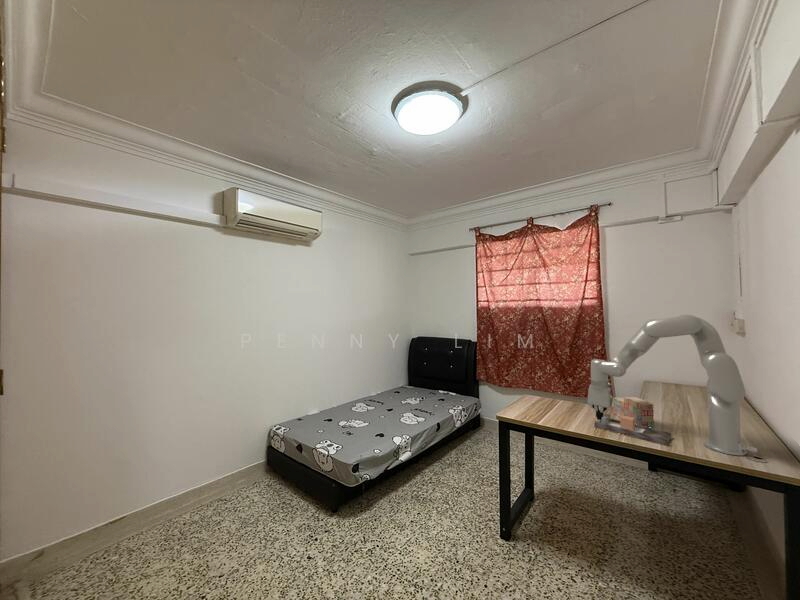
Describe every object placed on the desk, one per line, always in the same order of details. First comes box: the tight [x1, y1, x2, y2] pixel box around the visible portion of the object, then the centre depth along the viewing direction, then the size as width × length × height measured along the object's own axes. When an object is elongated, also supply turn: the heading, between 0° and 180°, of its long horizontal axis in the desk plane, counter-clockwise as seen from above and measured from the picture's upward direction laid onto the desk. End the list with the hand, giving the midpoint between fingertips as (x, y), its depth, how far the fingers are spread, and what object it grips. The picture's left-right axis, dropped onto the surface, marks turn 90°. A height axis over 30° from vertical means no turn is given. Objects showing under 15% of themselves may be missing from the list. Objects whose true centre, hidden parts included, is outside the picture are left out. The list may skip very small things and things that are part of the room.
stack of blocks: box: [612, 396, 654, 428], centre depth 167 cm, size 21×6×12 cm, turn 0°
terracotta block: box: [619, 415, 635, 430], centre depth 151 cm, size 5×5×5 cm
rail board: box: [594, 418, 672, 447], centre depth 150 cm, size 28×12×3 cm, turn 42°
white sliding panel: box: [600, 413, 645, 433], centre depth 152 cm, size 16×9×4 cm, turn 42°
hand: (599, 419), depth 160 cm, fingers closed
